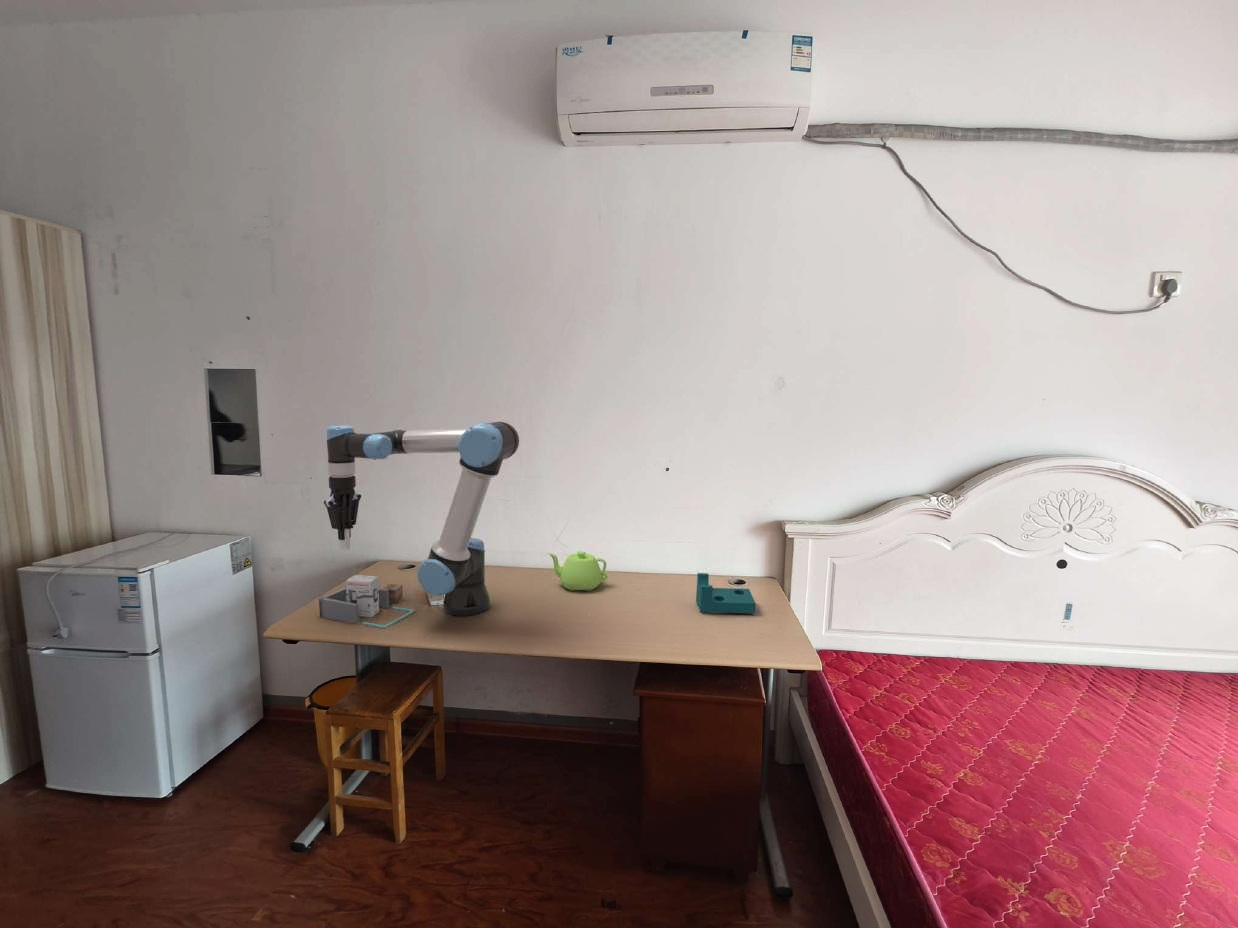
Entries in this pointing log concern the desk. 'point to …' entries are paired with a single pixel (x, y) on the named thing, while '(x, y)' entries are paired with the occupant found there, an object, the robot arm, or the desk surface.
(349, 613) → the cubby
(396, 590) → the walnut block
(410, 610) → the frame
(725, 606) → the teal l-shaped bracket
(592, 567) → the teapot
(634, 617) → the desk surface
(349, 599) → the ink box
